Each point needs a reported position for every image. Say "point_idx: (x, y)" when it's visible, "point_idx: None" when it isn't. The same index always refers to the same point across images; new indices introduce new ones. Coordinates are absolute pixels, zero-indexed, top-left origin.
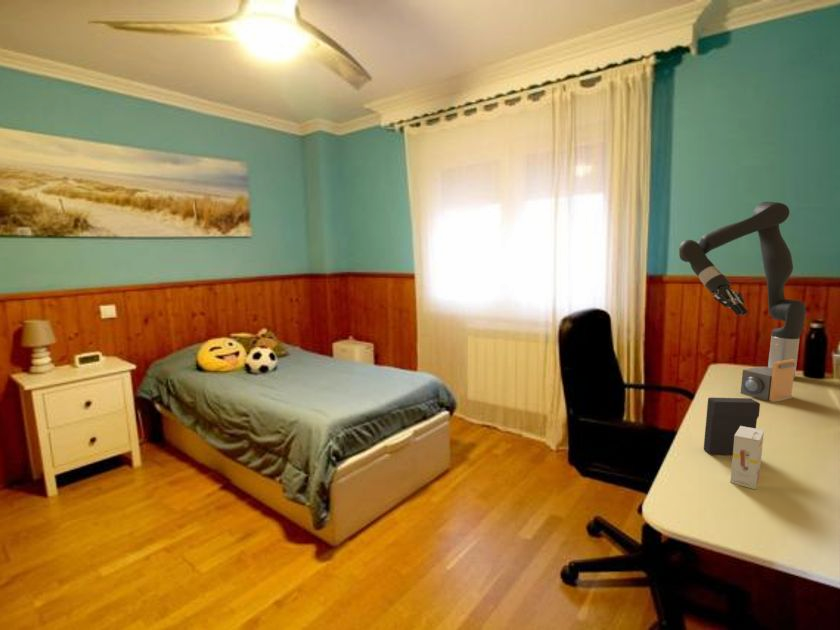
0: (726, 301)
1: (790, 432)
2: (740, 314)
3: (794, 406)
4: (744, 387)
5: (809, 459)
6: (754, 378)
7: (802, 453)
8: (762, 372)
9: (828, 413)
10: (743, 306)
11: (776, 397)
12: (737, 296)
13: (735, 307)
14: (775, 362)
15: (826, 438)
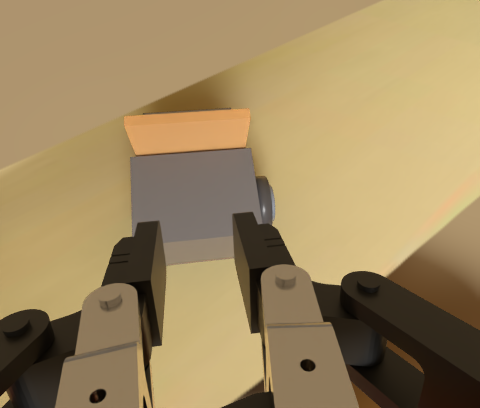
0: (425, 312)
1: (364, 64)
2: (233, 241)
3: None
4: None
5: (432, 2)
6: (269, 188)
7: (424, 15)
8: (230, 184)
9: (173, 99)
10: (141, 258)
11: None
12: (79, 386)
13: (284, 258)
14: (246, 113)
15: (326, 32)
